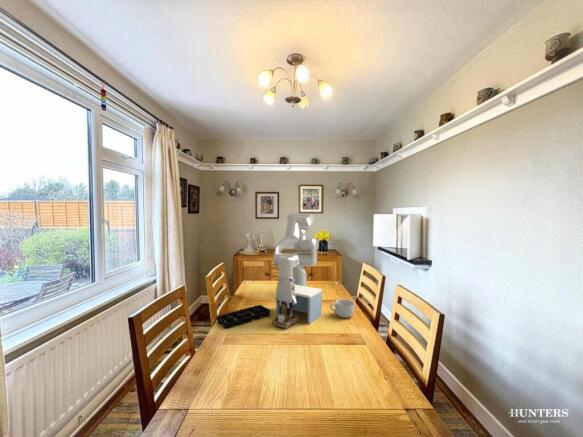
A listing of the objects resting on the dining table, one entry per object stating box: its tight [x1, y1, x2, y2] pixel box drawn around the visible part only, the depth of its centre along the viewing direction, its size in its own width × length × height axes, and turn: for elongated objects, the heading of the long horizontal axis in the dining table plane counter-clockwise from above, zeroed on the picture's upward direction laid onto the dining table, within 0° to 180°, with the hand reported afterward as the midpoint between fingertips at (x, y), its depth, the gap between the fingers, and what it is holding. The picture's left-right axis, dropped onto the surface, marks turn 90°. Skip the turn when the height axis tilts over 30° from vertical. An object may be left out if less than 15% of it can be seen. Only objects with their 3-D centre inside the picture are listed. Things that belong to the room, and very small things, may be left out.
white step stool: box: [275, 285, 323, 325], centre depth 152 cm, size 14×22×15 cm, turn 58°
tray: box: [271, 302, 300, 329], centre depth 140 cm, size 12×9×10 cm
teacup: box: [329, 298, 355, 319], centre depth 152 cm, size 14×11×8 cm
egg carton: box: [215, 304, 271, 330], centre depth 147 cm, size 18×30×4 cm, turn 142°
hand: (285, 313), depth 140 cm, fingers open, 3 cm apart
